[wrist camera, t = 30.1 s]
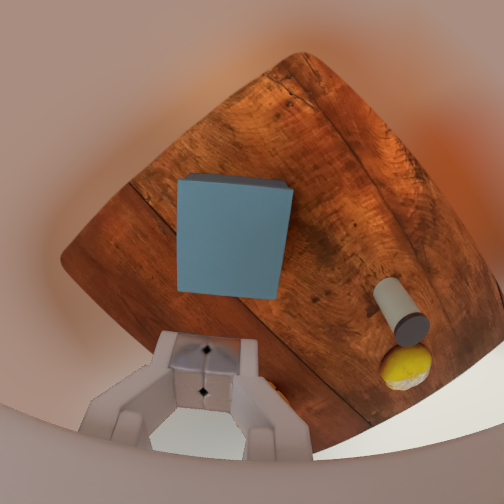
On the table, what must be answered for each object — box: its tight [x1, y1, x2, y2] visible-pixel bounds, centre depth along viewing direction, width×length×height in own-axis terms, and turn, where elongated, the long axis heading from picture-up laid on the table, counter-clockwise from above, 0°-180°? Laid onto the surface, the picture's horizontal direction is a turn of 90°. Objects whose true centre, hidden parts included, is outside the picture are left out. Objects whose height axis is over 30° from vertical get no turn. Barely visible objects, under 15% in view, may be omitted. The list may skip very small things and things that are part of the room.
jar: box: [373, 277, 430, 347], centre depth 44 cm, size 6×6×11 cm
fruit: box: [379, 343, 431, 390], centre depth 54 cm, size 11×10×8 cm
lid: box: [177, 178, 294, 300], centre depth 37 cm, size 14×13×1 cm
